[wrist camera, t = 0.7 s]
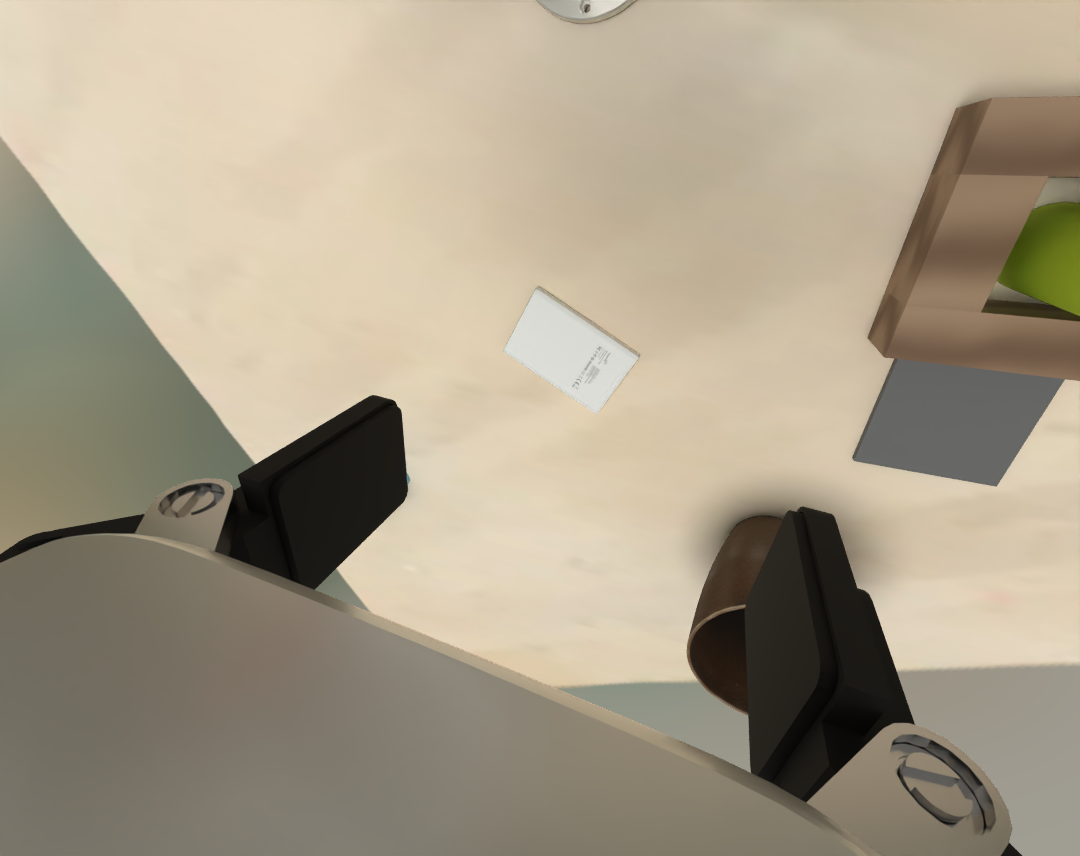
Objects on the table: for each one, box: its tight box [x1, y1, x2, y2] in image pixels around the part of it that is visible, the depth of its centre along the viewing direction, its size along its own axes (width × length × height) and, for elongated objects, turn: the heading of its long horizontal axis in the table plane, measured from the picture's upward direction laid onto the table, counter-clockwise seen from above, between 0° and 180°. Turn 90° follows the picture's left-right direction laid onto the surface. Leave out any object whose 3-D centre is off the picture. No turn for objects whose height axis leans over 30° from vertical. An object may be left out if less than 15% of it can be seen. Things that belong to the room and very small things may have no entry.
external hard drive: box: [504, 287, 640, 414], centre depth 48 cm, size 2×8×12 cm
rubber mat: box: [852, 359, 1065, 486], centre depth 39 cm, size 11×11×1 cm
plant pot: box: [687, 516, 783, 715], centre depth 44 cm, size 15×15×16 cm
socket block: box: [868, 96, 1080, 381], centre depth 30 cm, size 16×16×5 cm
